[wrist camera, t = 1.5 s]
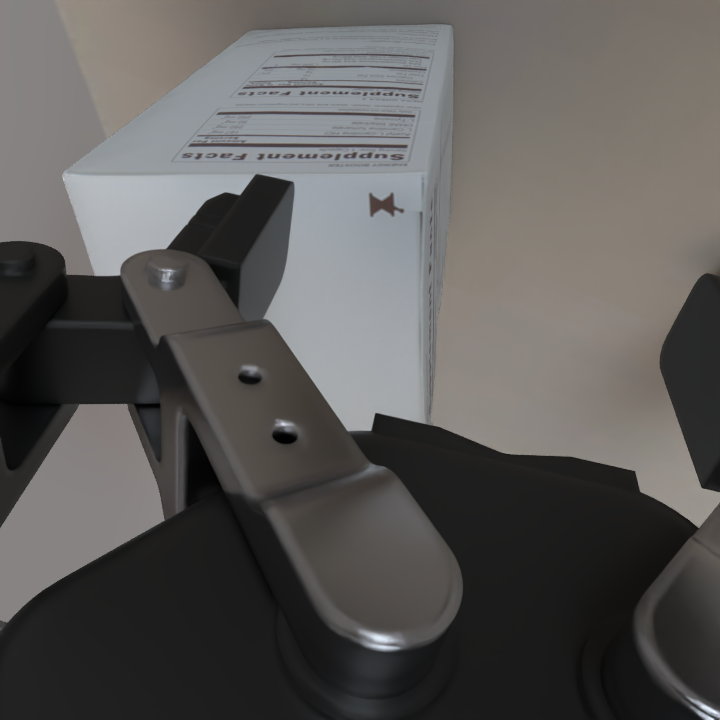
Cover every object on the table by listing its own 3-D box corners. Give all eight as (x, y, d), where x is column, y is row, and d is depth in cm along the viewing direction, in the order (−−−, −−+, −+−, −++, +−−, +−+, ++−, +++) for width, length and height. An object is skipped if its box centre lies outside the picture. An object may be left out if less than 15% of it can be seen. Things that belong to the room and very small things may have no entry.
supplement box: (243, 25, 30) (44, 156, 16) (456, 18, 28) (431, 154, 15) (272, 228, 35) (140, 452, 22) (451, 230, 34) (430, 470, 20)
